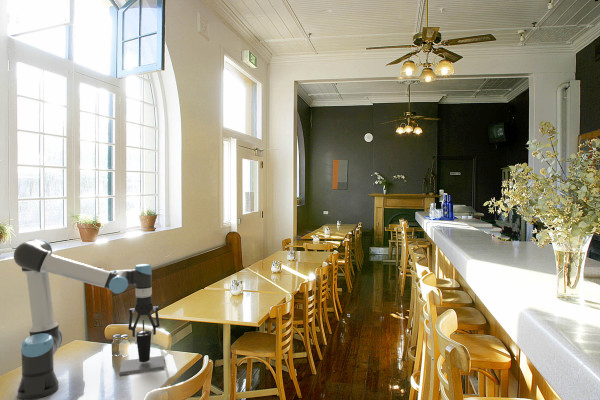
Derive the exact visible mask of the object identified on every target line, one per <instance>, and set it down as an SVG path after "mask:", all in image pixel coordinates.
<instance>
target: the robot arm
mask: <svg viewBox="0 0 600 400" xmlns="http://www.w3.org/2000/svg"><path fill="white" fill-rule="evenodd" d="M13 260H14V262H15V264H17V266H19V267H20V268H21V272H22V273H24V274H25V276H26V282H27V289H28V290H27V291H28V297H29V306H30V314H31V323H32V326H31V327H30V328H29V330H28V332H29V336H27V337H26V338H25V339H24V340H23V341H22V343H21V347H20V352H21V372H22V373H21V379H20V382H19V385H18V388H17V398H18V399H19V400H20V399H21V400H36V399H37V400H38V399H40V398H44V397H47V396H50V395H52V394H54V393H55V392H56V391H58V390H59V387H60V386H59V379H58V378H57V376H56V373H55V369H54V367H55V366H54V355H55V354H56V352H57V351H58V350H59V348H60V347H61V344H62V342H63V335H62V334H63V333H62V332H61V330H60V328H59V323H58V322H57V321H55V317H54V309H53V308H54V307H53V301H52V299H53V298H52V291H51V284H50V274H53V275H57V276H61V277H65V278H67V279H68V278H69V279H71V280H74V281H75V280H76V281H79V282H82V283H86V284H89V285H93V286H95V287H101V288H104V289H108V290H110V291H111V292H112V293H114V294H121V293H123V292H124V291H126V289H127V288H128V287H129V286H133V285H134V286H135V307H134V308H132V307H131V308H129V310H128V313H129V319H128V328H127V329H128V331H131V332H132V333H131V335H132V338H134V344H135V345H137V336H136V335H137V331H138V329H137V325H138V323H139V320H140V318H141V316H147V317H148V319H149V321H150V323H151V326H152V327H151V331H152V334H151V343H154V336H155V335H157V328H159V327H161V326H160V319H159V318H160V317H159V305H157V306H154V305H153V296H152V295H153V289H152V288H153V287H152V285H153V283H152V282H153V279H152V278H153V276H152V275H153V274H152V265H151V264H148V263H140V264H136V265H135V268H134V269H115V270H110V271H109V270H107V269H106V270H105V269H103V268H100V267H96V266H92V265H90V264H85V263H83V262H79V261H75V260H73V259H69V258H65V257H62V256H59V255H55V254H53V248H52V245H51V244H50V243H49V242H48V241H47V240H44V239H42V238H41V239H40V238H36V239H35V238H33V239H29V240H27V241H25V242H22V243H20V244H19V245H18V246H17V247H16V248H15V250H14V252H13ZM49 273H50V274H49ZM152 310H153V311H154V314H155V320H156V322H155V321H154V318H153V316H152V313H151V312H152ZM135 311H136V313H137V315H136V317H135V320H134V323H133V315H134V313H135ZM132 325H133V326H132Z"/></svg>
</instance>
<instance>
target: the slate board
mask: <svg viewBox="0 0 600 400" xmlns="http://www.w3.org/2000/svg"><path fill="white" fill-rule="evenodd" d="M161 370H162V371H163V370H165V357H164V355H159V356H150V360H149V361H147V362H139V358H133V359H126V360H124V359H123V360H121V362H120V368H119V376H124V375H132V374H138V373H147V372H153V371H161Z"/></svg>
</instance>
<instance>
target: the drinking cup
mask: <svg viewBox="0 0 600 400" xmlns="http://www.w3.org/2000/svg"><path fill="white" fill-rule="evenodd" d="M136 336H137V344H136V346H137V347H136V348H137V354H138V359H139V362H147V361H149V360H150V357H151V343H152V330H148V329H145V320H144V319H142V330H139V331H138V332H137V335H136Z"/></svg>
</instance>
